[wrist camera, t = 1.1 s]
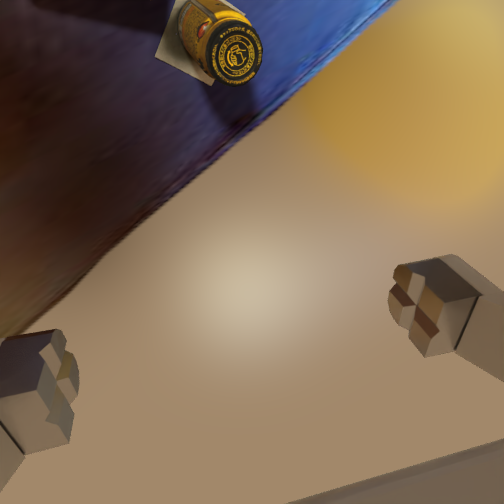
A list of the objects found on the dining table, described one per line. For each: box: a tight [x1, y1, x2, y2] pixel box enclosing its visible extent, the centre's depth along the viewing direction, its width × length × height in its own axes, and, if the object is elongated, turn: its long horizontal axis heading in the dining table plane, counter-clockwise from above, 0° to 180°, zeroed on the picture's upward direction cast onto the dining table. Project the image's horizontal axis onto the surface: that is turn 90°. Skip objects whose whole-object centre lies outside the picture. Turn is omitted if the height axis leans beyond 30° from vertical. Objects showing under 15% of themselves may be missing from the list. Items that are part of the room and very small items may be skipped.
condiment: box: [155, 0, 263, 87], centre depth 36 cm, size 7×8×12 cm
